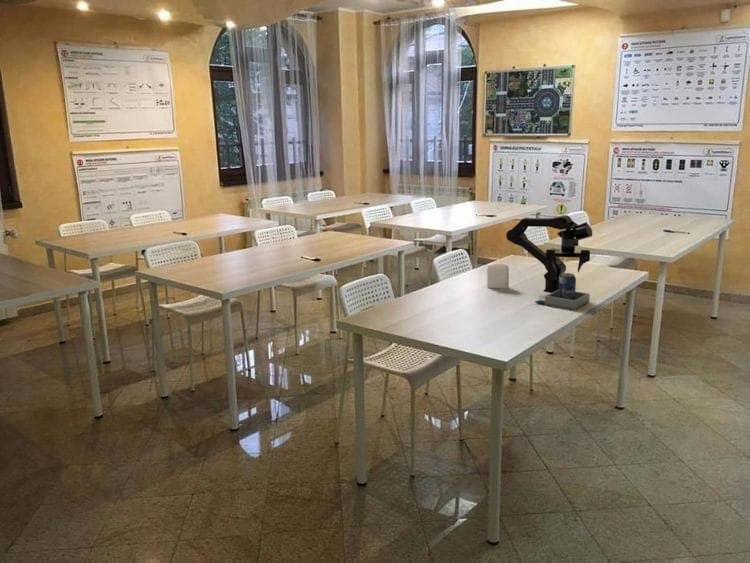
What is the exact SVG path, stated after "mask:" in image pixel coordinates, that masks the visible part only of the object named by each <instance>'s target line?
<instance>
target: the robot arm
mask: <svg viewBox="0 0 750 563" xmlns="http://www.w3.org/2000/svg"><path fill="white" fill-rule="evenodd" d="M529 227H533V228H534V227H535V228H536V227H539V228H551V229H556V230H560V231H559V232H557V234H556V235H558V236H559V238H561V244H560V251H559V252H557V251H556V249H553V248H552V249H551V248H548V249H546V250H545V251H544V250H542V249H541V248H540V247H538V246H537V245H536V244H535V243H533V242H532V241H531V240H529V238H528V237H527V235H526V233H525V232H526V231H527V230H528V228H529ZM505 237H506V239H507V241H508V242H510V243H512V244H514V245H517V246H520V247H521V248H522V249H523V250H525V251H526V252H527V253H529V254H530V255H531V256H532V257H534V259H537V260H538V261H539V263H541V264H542V265H543V266H544V268H545V270H546V271H547V272H545V273H544V274H543V277H544V280H545V281H544V282H545V283H544V284H545V285H544V286H545V288H544V289H543V291H544V292H547V293H552V292H554V291H556V290H558V289H559V278H560V276H561V274H563V273H566V271H567V265H566V264H565V262H564V260H561V259H560V258H574V259H575V258H576V259H577V258H579V260H578V266H577V273H579V272H580V270H581V268H582V266H584V264H586V263H587V262H590V261H591V260H590V259H591V251H590V250H589V249H580V252H576V247H579V241H580V240H581V241H582V240H585V239H587V238H588V239H589V238H591V237H593V229H592V227H591V226H590V225H589V224H588V222H587V221H585V222H583V223H580V224H577V223H576V222H575V221H574V220H572V218H571V217H570V215H567V214H565V215H561V216H554V217H523V218H522V219H521V220H520V221H518V223H517V224H516V225H515V226H513V227H512V229H508V231H507V232H506V234H505Z"/></svg>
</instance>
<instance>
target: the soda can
mask: <svg viewBox="0 0 750 563" xmlns="http://www.w3.org/2000/svg"><path fill="white" fill-rule="evenodd" d="M576 287H577V279H576V275H575V273H568V272H565V273H563V274H561V276H560V277H559V297H558V298H564V299H570V300H575V292H576Z"/></svg>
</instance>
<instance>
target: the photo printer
mask: <svg viewBox="0 0 750 563" xmlns="http://www.w3.org/2000/svg"><path fill="white" fill-rule="evenodd" d="M486 269H487V270H486V273H487V274H486V287H487V288H488V289H507V290H508V289H509V287H510V285H509V282H510V281H509V278H510V277H509V276H510V275H509V274H510V270H509V265H508V264H507V263H504V262H492V263H491V262H490V263H488V264H487V268H486Z"/></svg>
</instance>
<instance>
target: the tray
mask: <svg viewBox="0 0 750 563" xmlns="http://www.w3.org/2000/svg"><path fill="white" fill-rule="evenodd" d="M558 297H559V289H558V290H556V291H554V292H549V293H548V294H546V295H544V305H545V306H548V305H549V307H555V308H559V307H560V308H561V309H565V308H567V310H570V311H571V310H572V311H578V310H579V309H581V308H583V307H584V306H586V305H587V304H589V303H590V293H587V292H581V291H575V300H570V299H564V298H558Z"/></svg>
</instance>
